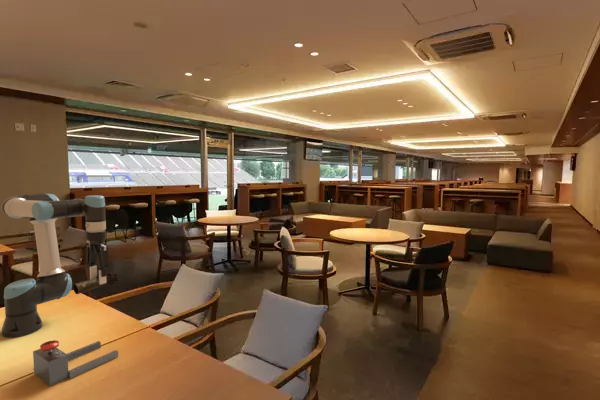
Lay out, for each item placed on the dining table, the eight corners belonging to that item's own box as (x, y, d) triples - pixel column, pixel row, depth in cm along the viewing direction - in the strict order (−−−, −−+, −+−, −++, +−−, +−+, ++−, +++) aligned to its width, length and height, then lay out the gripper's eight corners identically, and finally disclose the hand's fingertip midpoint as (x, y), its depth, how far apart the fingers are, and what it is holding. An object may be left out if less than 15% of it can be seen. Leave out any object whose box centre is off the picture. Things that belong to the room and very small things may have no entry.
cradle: (33, 373, 129) (31, 341, 128) (98, 346, 149) (97, 318, 148) (51, 387, 121) (49, 353, 120) (118, 356, 141) (117, 327, 140)
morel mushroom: (77, 296, 143) (78, 284, 141) (70, 289, 146) (71, 277, 145) (120, 284, 157) (121, 273, 156) (112, 278, 161) (113, 267, 159)
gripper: (75, 229, 152) (77, 280, 153) (99, 234, 141) (101, 288, 143) (93, 227, 158) (95, 276, 160) (117, 231, 148) (119, 283, 150)
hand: (98, 282), depth 152 cm, fingers closed on morel mushroom, 7 cm apart
